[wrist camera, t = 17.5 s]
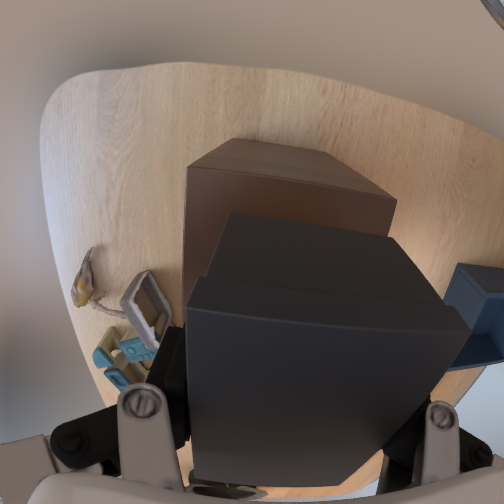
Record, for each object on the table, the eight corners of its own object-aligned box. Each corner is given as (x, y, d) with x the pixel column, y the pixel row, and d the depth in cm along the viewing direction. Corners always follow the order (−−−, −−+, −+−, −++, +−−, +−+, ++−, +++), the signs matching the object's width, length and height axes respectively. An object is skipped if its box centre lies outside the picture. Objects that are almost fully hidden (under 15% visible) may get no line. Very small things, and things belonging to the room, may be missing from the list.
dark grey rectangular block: (226, 207, 9) (184, 306, 5) (396, 234, 9) (473, 331, 5) (212, 385, 13) (194, 478, 8) (328, 396, 13) (339, 485, 9)
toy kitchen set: (226, 387, 45) (219, 440, 36) (159, 398, 49) (144, 443, 39) (167, 307, 39) (142, 363, 29) (98, 329, 42) (69, 376, 32)
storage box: (424, 338, 40) (442, 372, 33) (457, 262, 34) (486, 292, 27) (485, 334, 40) (504, 362, 33) (516, 270, 34) (542, 294, 27)
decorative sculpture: (79, 299, 39) (55, 327, 32) (68, 241, 35) (37, 265, 28) (176, 318, 39) (161, 355, 32) (174, 255, 35) (154, 287, 28)
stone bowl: (173, 455, 60) (169, 484, 52) (270, 458, 61) (272, 488, 53) (186, 483, 71) (184, 506, 62) (264, 485, 72) (265, 509, 64)
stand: (231, 138, 29) (186, 166, 13) (327, 152, 29) (398, 200, 13) (222, 227, 33) (182, 336, 17) (309, 239, 33) (343, 354, 17)
